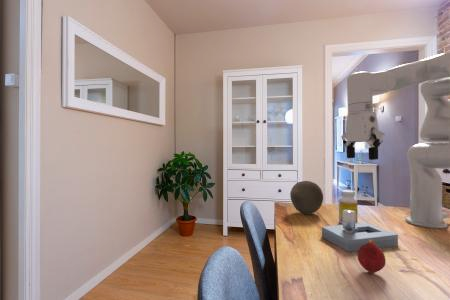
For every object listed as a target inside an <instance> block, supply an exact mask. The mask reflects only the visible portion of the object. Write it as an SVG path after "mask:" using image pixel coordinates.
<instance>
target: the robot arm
mask: <svg viewBox="0 0 450 300" xmlns="http://www.w3.org/2000/svg"><path fill="white" fill-rule="evenodd" d="M419 84H421V85H420V90H419V91H420V94H421V96H422V98H423V100H424V102H425V104H426V106H427V110H426V114H425V117H424V120H423V122H422V125H421V128H420V131H419V132H420V133H419V137H420V139H421V140H422V141H423V142H425V143H416V144H414V145H412V146H410V147H409V148H408V150H407V161H408V162H407V163H408V165H409V173H410V181H409V183H410V184H409V186H410V191H409V195H410V200H409V202H410V204H409V205H410V209H409V215H408V216H406V217H404V218H405V219H404V220H405V221H406V222H407V223H409V224H411V225H415V226H418V227H423V228H428V229H446V228H447V227H448V222H446V221H444V219H448V218H450V214H449V213H447V212H443V179H442V176H441V175H440V173H439V172H438V170H437V169H440V170H441V169H442V170H450V100H448V99H447V98H446V97H448V96H450V52H443V53H439V54H436V55H433V56H430V57H427V58H424V59H420V60H416V61H413V62H410V63H405V64H401V65H398V66H395V67H392V68H389V69H386V70H384V71H383V70H382V71H375V72H373V71H372V72H369V71H359V72H358V71H357V72H354V73H352V74H349V75H348V76H347V78H346V89H347V90H346V93H347V95H346V96H347V116H346V121H345V122H346V123H345V133H343V134H342V135H341V136H340V137H341V140H342V143H343V144H344V147H345V149H346V153H345V154H346V159H355V158H356V146H355V144H356V143H365V142H366V143H367V144H368V146H369V147H368V159H369V160H370V161H373V160H375V161H376V160H378V159H379V148H380V146H381V144H382V143H383V140H384V138H385V132H383V131H380V130H379V124H378V123H379V122H378V117H377V113H376V112H375V111H374V108H375V104H374V103H373V102H374V101H373V97H374V96H379V95H384V94H387V93H389V92H392V91H398V90H401V89H405V88H409V87H412V86H416V85H419Z"/></svg>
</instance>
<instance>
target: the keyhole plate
mask: <svg viewBox="0 0 450 300" xmlns="http://www.w3.org/2000/svg"><path fill="white" fill-rule="evenodd" d="M321 237H322V238H323V239H325V240H327V241H329V242H330V243H332V244H333V245H335V246H337V247H339V248H341V249H342V250H344V251H346V252H347V253H351V252H358V250H359V248H360V247H361V246H362V245H364V244H367V243H368V242H369V240H371V239H372V240H373V241H374V244H375V245H377V246H378V247H379V248H380V249H381V248H382V249H383V248H389V247H398V246H399V235H398V233H394V232H392V231H389V230H387V229H384V228H383V227H382V228H381V227H379V226H376V225H373V224H371V223H368V222H361V223H360V222H357V224H355V230H353V233H349V234H348V233H346V232H345V229H343V224H337V225H328V226H321Z"/></svg>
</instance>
